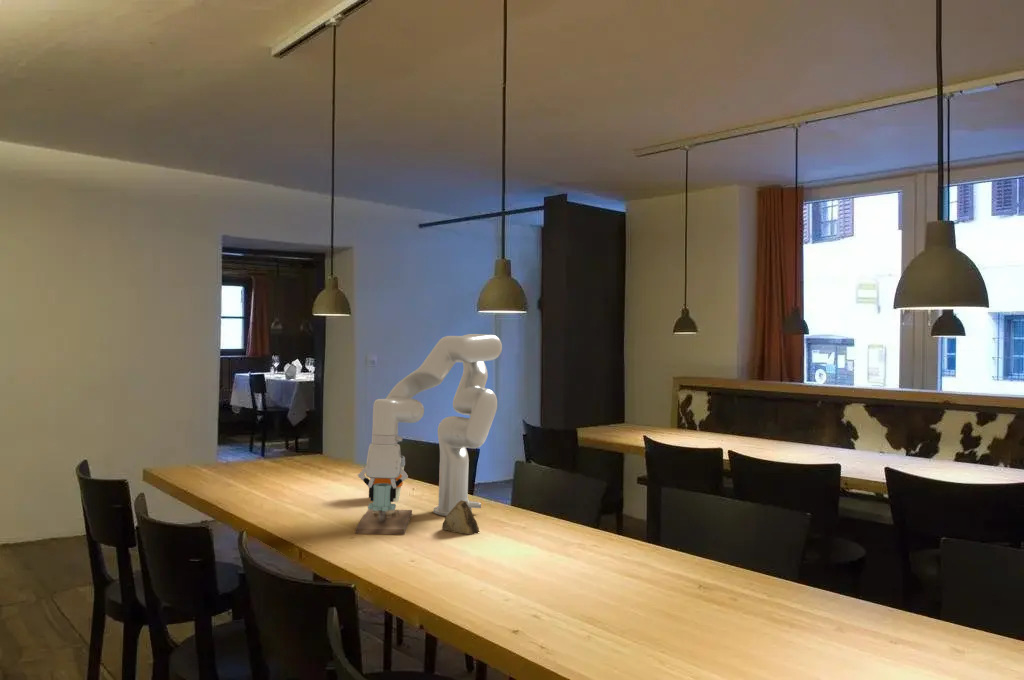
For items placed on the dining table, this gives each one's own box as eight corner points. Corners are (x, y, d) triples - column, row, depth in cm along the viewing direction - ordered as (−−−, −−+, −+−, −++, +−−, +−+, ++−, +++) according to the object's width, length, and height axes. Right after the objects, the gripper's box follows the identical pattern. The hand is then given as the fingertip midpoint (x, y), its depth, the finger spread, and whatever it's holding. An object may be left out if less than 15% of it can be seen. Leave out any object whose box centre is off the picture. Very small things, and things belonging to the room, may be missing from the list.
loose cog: (396, 505, 226) (397, 482, 226) (393, 511, 218) (394, 487, 218) (370, 504, 226) (371, 482, 226) (366, 510, 218) (367, 486, 218)
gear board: (411, 514, 239) (412, 492, 239) (404, 534, 214) (404, 510, 214) (368, 513, 238) (369, 491, 239) (355, 533, 214) (356, 509, 214)
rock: (431, 522, 220) (449, 525, 212) (446, 497, 224) (463, 499, 216) (457, 541, 224) (475, 544, 216) (470, 516, 228) (489, 518, 220)
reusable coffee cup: (400, 504, 254) (402, 460, 254) (364, 502, 254) (365, 459, 255) (406, 496, 267) (408, 454, 267) (372, 495, 267) (373, 453, 267)
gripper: (414, 439, 227) (411, 499, 226) (358, 437, 226) (355, 497, 226) (412, 442, 219) (409, 504, 219) (353, 440, 218) (351, 502, 218)
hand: (382, 500), depth 222 cm, fingers closed on loose cog, 5 cm apart
